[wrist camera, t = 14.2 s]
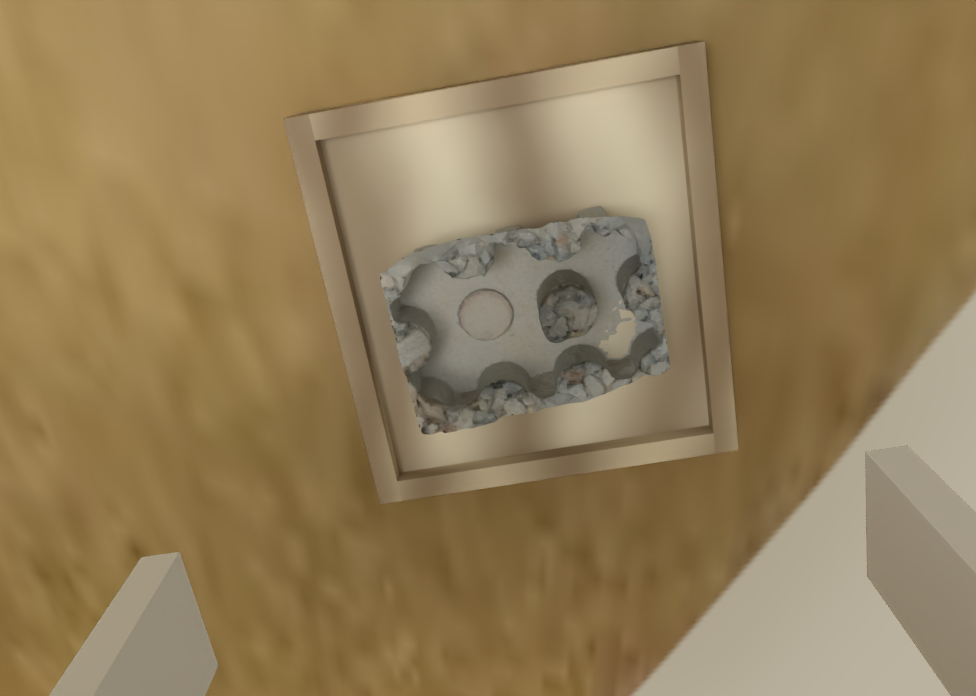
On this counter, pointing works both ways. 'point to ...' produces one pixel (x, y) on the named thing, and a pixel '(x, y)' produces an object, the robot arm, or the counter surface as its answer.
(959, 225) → the counter surface
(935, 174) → the counter surface
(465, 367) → the egg carton
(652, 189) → the tray
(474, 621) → the counter surface
